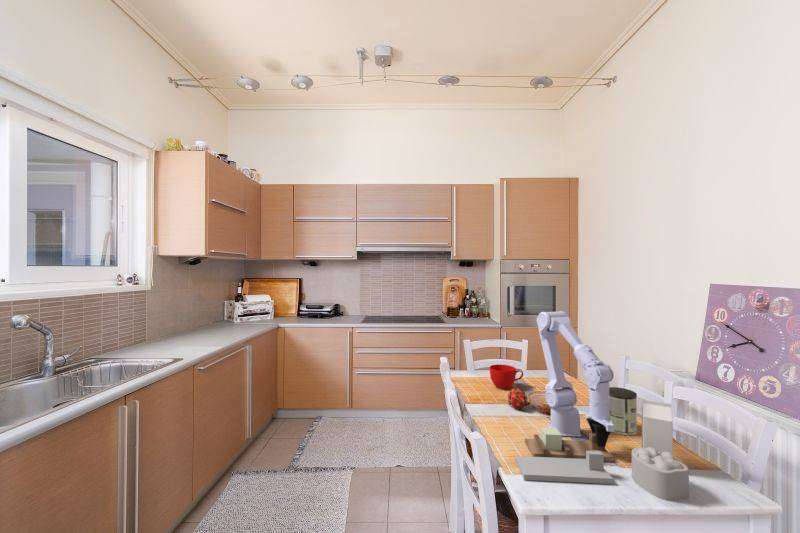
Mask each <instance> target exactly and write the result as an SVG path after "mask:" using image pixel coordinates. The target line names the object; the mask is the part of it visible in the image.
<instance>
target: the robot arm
mask: <svg viewBox="0 0 800 533" xmlns="http://www.w3.org/2000/svg"><path fill="white" fill-rule="evenodd" d="M535 321H536V324H537V327H538V328H537V329H538V332H539V339H540V342H541V343H540V344H541V349H542V352H543V356H544V361H545V365H546V369H547V374H548V379H549V382H547V383H546V385H545V387H544V389H545V401H546V403H547V405H548V407H549V408H550V424H547V425H546V428H556V429H557V430H558V431H559V432H560V433H561V435H562V437H578V438H580V437H582V434H581V415H580V411H579V410H578V408H577V407H574V406H575V405H577V402H578V395H577V393H576V392H575V389H574V388H573V387H574V386H573V384H572V383H571V382H570V381H568V380H567V379H566V377H565V372H564V368H563V364H562V359H561V355H560V352H559V347H558V342H557V339H556V337H557V335H558V334H559V333H560V334H561V335H562V336H563V338H564V339H565V340H566V342H568V344H569V345H570V346H571V347H572V348H573V355H574V357H575V358H576V359H577V361H578V362H579V364H580V365H581V367H582V368H583V369H584V371H585V372H584V377H585V379H586V381H587V386H588V392H589V393H588V396H589V397H588V400H589V401H588V403H589V404H588V406H586V408H585V412H586V414H585V417H586V422H587V424H588V426H589V428H590V430H591V431H590V433H596V439H597V444H598V446H599V447H605V448H606V446H607V442H608V439H609V436H610V434H611V433H614V425H613V424H612V421H611V418H610V410H609V387H610V382H612V381H613V379H614V377H615V376H614V371H613V369H612V367H611V366H610V365H609V364H607V363H605V362H603V361H602V360H601V359H600V358H599V357H598V355H597V354H595V351H594V350H593V348H592V347H591V346H590V345H588V344H584V343H583V342H582V340H581V339H580V337H579V336H578V334H577V333H576V331H575V329H574V328H573V326H572V325H571V318H570V317H569V316H568V315H567V313H566V312H565V311H563V310H559V311H541V312H539V314H538V315H537V317H536V320H535Z"/></svg>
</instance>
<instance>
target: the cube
mask: <svg viewBox="0 0 800 533" xmlns="http://www.w3.org/2000/svg"><path fill="white" fill-rule="evenodd" d="M540 439H541V440H542V442H543V443H544V445H545V446H546V448H547V450H556V451H562V440H563V436H562V435H561V433H560V432H559V431H558V430H557V429H556V428H548V427H540Z"/></svg>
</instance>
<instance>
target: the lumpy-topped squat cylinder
mask: <svg viewBox="0 0 800 533" xmlns="http://www.w3.org/2000/svg"><path fill="white" fill-rule="evenodd" d="M630 453H631V455H630V456H631V478H632V480H633V482H634V483H635V484H636V485H638V486H639V487H640V488H642V489H643V490H644V491H646V492H647V493H649V494H651V495H652V496H654V497H655V498H658V499H660V500H663V501H666V502H672V501H676V500H679V499H680V500H686V499H687V500H688V499H689V497H690V477H689V476H690V475H689V474H690V473H689V472H690V470H689V468H688V466H687V464H684V463H683V462H681V461H679V460H677V459H676V458H675V456H674V454H673V455H672V454H671V453H669V452H661V451H659V452H658V451H656V450H655V449H654V448H651V447H647V448H643V447H642V446H641V447H639V446H638V447H634V448H632V449H631V452H630Z"/></svg>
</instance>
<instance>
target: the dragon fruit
mask: <svg viewBox="0 0 800 533" xmlns="http://www.w3.org/2000/svg"><path fill="white" fill-rule="evenodd" d="M507 399H508V400H507V402H508V406H512V408H514V410H516V411H520V409H522V410H524V409H525V408H526V407H528V406H530V405H531V402H530V401H529V399H528V397H527V395H526V391H523V390H522V389H521V388H513V389H511V390H510V391H509V393H508V394H507Z"/></svg>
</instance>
